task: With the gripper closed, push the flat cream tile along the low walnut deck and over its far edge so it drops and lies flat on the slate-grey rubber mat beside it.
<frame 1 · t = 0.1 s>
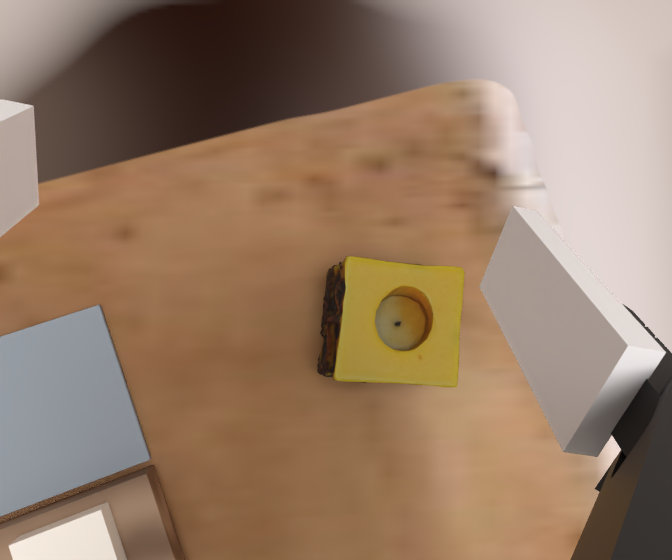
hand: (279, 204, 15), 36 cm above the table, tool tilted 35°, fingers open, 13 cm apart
mat: (45, 409, 47), on the table
candle: (372, 325, 52), on the table
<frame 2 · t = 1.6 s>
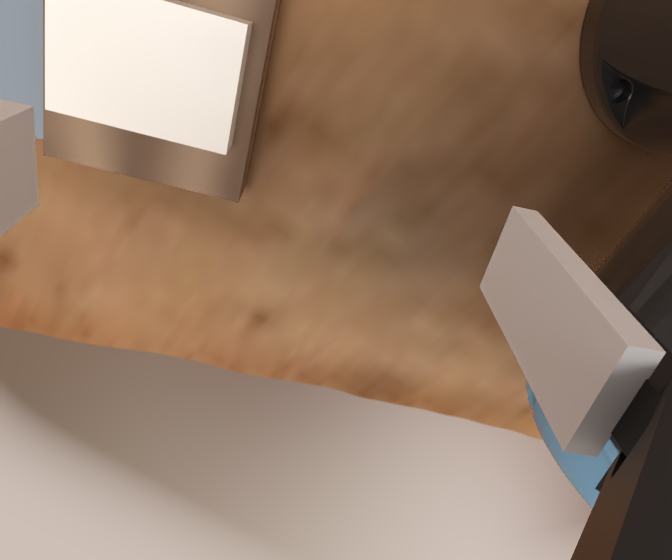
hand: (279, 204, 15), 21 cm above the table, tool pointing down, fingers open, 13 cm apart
deck: (168, 56, 33), on the table
tile: (153, 63, 30), point 3 cm above the table, touching deck
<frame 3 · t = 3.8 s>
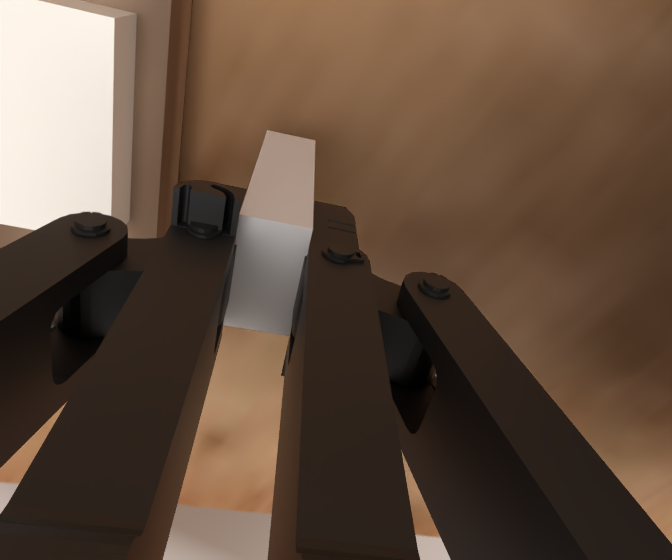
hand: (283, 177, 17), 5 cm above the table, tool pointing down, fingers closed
deck: (21, 77, 20), on the table
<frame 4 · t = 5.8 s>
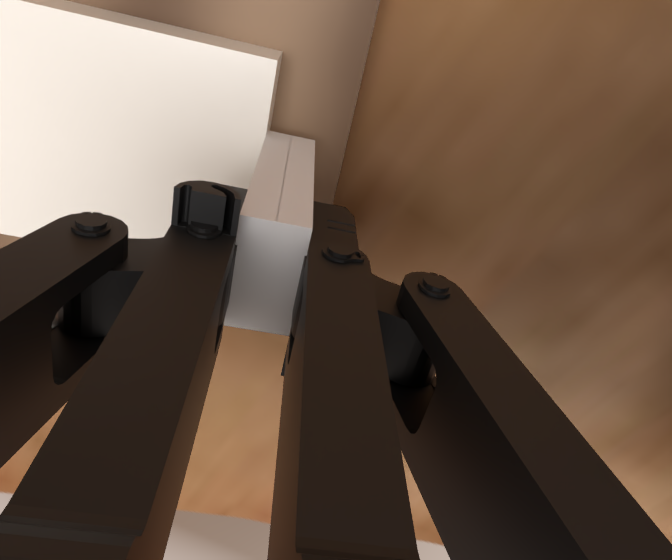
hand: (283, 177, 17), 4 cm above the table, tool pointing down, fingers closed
deck: (183, 118, 20), on the table
tile: (113, 128, 17), point 3 cm above the table
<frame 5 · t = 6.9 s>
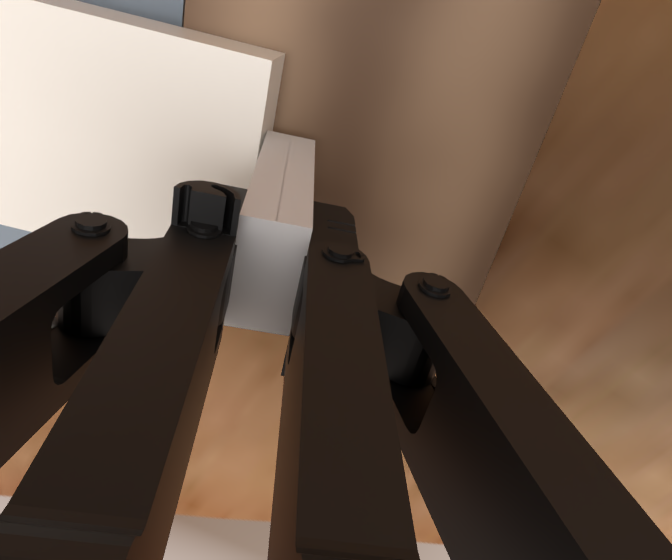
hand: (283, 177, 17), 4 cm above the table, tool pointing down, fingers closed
deck: (347, 152, 21), on the table
tile: (119, 127, 18), point 3 cm above the table, tilted 7°, touching gripper
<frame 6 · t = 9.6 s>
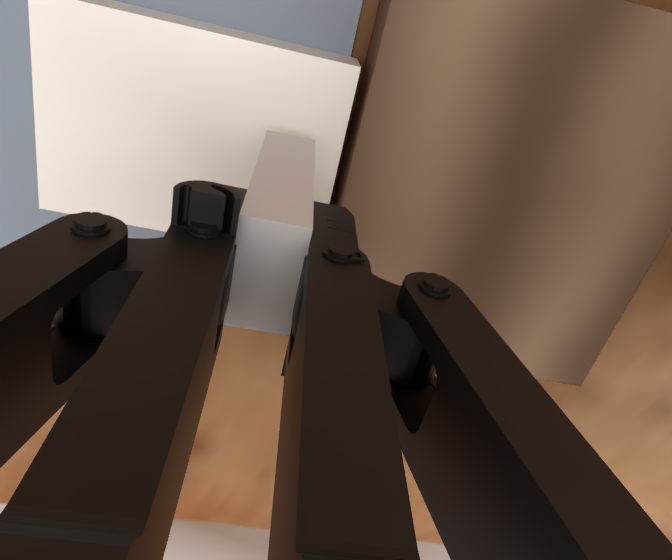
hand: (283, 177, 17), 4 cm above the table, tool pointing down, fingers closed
deck: (489, 183, 22), on the table
tile: (202, 126, 20), resting on mat
mat: (138, 109, 20), on the table
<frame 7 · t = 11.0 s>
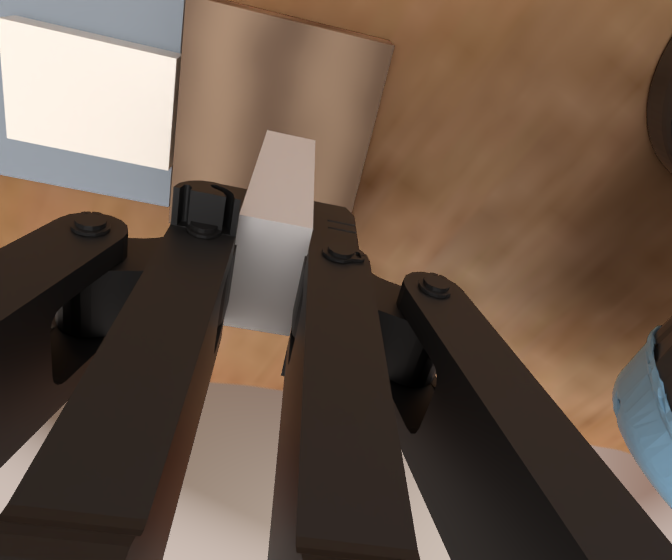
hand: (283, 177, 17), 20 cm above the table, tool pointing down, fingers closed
deck: (276, 129, 36), on the table
tile: (100, 93, 34), resting on mat
mat: (64, 83, 34), on the table
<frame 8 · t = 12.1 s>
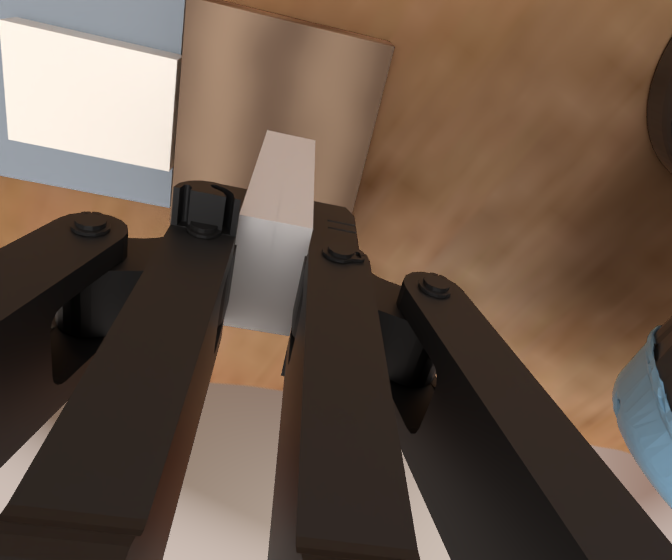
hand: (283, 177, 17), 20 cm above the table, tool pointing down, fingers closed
deck: (276, 129, 36), on the table
tile: (101, 94, 34), resting on mat
mat: (65, 84, 35), on the table
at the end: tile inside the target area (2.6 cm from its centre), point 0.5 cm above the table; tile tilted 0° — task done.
